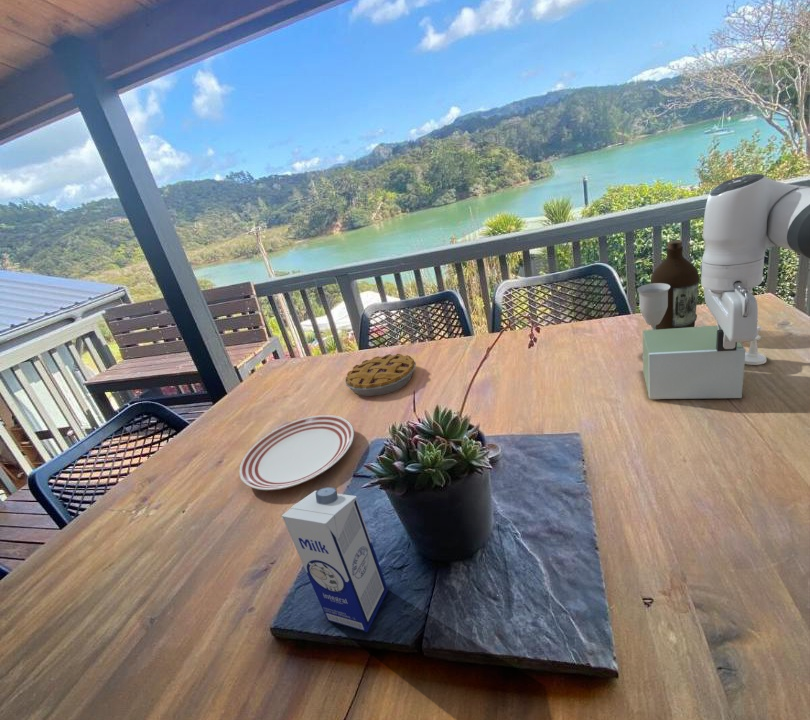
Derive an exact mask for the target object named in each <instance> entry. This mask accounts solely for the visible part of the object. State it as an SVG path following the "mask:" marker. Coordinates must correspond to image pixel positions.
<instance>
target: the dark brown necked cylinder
mask: <svg viewBox="0 0 810 720" xmlns="http://www.w3.org/2000/svg"><path fill="white" fill-rule="evenodd" d="M666 244H667V247H666V258H665V259H664V260H663V261H662V262H661V263H660V264H659V265H658V266H657V267H656V268H655V269H654V271H653V272H652V274H651V277H650V282H649V284H652V283H664V284H668V285H670V288H669V290H668V307H667V310H666V312H665V315H664V317H663V318H662V320H661V322H660V324H658V325H656V330H658V329H672V328H687V327H696V322H697V318H698V314H697V305H698V294H699V284H700V274H699V272H698V269H697V267H696V266H695V265H693V264H692V263H691V262H690V261H689V260H687V259H686V258H685V257H684V256H683V248H684V246H683V241H682V240H670V241H668V242H667V243H666Z"/></svg>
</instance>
